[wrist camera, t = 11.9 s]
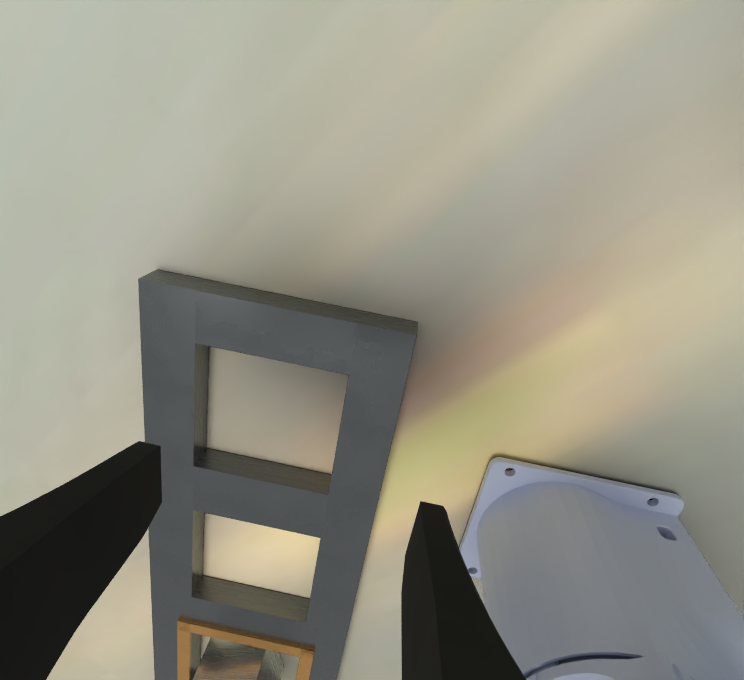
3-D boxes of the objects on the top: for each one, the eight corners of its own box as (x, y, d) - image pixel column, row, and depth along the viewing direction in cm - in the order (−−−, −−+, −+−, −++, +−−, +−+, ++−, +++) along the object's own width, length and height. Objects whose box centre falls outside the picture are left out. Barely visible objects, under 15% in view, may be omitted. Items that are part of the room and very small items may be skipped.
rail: (417, 322, 21) (416, 337, 19) (325, 720, 34) (320, 747, 33) (157, 269, 21) (135, 280, 20) (166, 683, 34) (154, 709, 33)
